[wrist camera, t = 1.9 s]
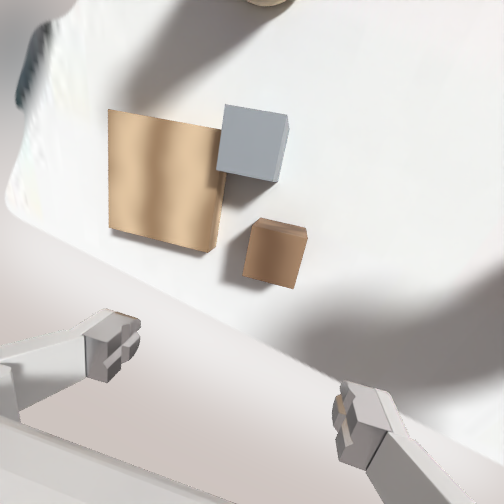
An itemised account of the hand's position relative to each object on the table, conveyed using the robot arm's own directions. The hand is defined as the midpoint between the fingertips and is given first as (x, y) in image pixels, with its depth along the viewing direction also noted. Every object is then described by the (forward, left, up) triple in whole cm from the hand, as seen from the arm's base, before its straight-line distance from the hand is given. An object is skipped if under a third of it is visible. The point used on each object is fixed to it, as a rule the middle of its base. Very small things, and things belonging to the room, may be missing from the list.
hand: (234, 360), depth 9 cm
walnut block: (0, 0, -18) cm, 18 cm away
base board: (+13, -4, -18) cm, 22 cm away
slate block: (+4, -9, -18) cm, 21 cm away
